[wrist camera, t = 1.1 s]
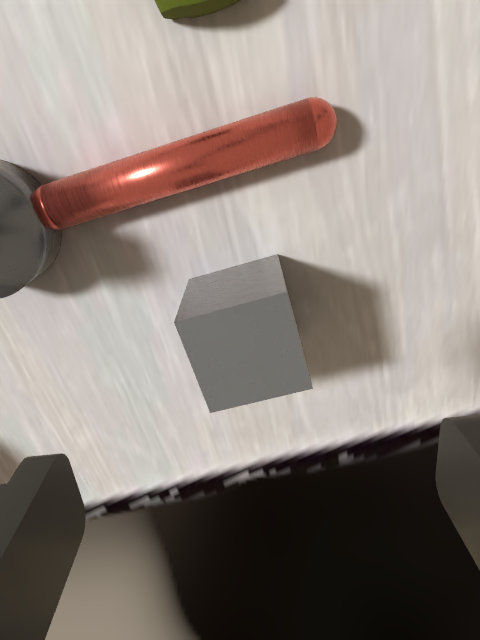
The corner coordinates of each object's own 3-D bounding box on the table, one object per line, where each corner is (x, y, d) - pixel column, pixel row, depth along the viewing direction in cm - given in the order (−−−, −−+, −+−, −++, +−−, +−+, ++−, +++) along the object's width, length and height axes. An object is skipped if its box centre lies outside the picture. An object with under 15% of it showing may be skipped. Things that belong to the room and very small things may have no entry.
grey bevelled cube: (277, 254, 25) (286, 292, 20) (299, 334, 27) (312, 388, 22) (189, 279, 26) (174, 322, 21) (217, 356, 28) (210, 412, 23)
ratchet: (317, 39, 21) (351, 1, 14) (344, 185, 24) (384, 212, 17) (-89, 179, 24) (-224, 204, 17) (-22, 293, 27) (-114, 354, 20)
